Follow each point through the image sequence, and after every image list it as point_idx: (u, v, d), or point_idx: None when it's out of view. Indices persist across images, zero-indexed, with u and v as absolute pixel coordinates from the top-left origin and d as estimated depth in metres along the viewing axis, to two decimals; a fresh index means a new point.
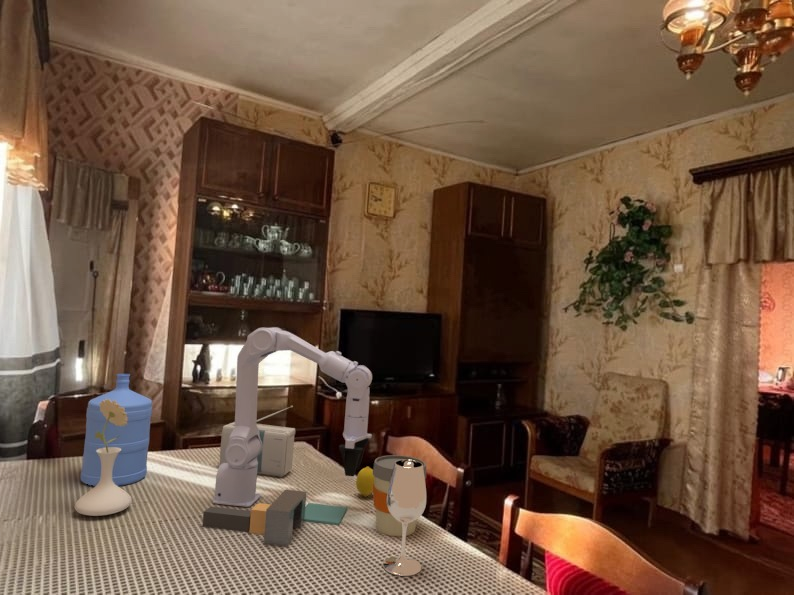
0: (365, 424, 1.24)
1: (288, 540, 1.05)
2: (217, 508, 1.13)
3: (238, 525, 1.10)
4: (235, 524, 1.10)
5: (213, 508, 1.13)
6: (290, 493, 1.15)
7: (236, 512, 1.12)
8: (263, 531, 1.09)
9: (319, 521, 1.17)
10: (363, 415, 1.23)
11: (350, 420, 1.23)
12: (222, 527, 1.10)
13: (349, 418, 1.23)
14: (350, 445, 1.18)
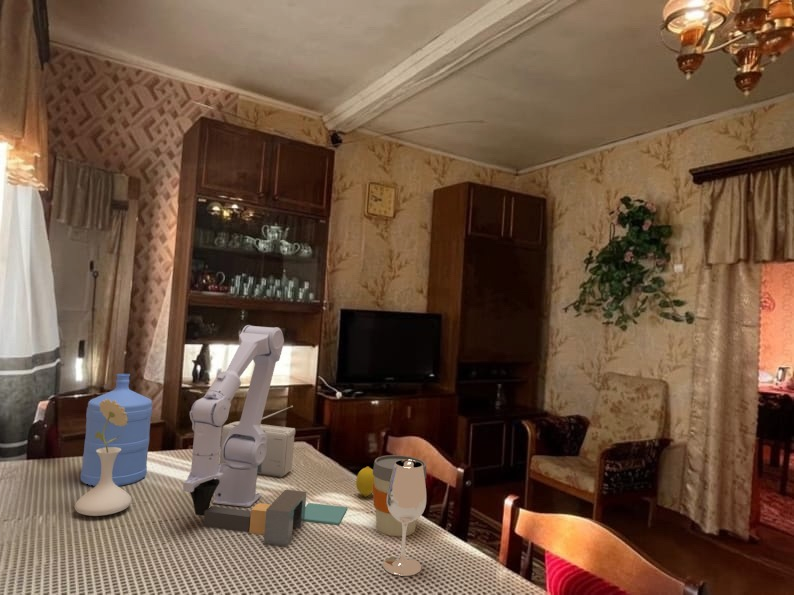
0: (213, 463, 1.12)
1: (288, 540, 1.05)
2: (218, 508, 1.13)
3: (238, 525, 1.10)
4: (235, 524, 1.10)
5: (214, 508, 1.13)
6: (290, 493, 1.15)
7: (237, 512, 1.12)
8: (263, 531, 1.09)
9: (319, 521, 1.17)
10: None
11: (195, 459, 1.11)
12: (222, 527, 1.10)
13: (195, 456, 1.11)
14: (188, 488, 1.06)
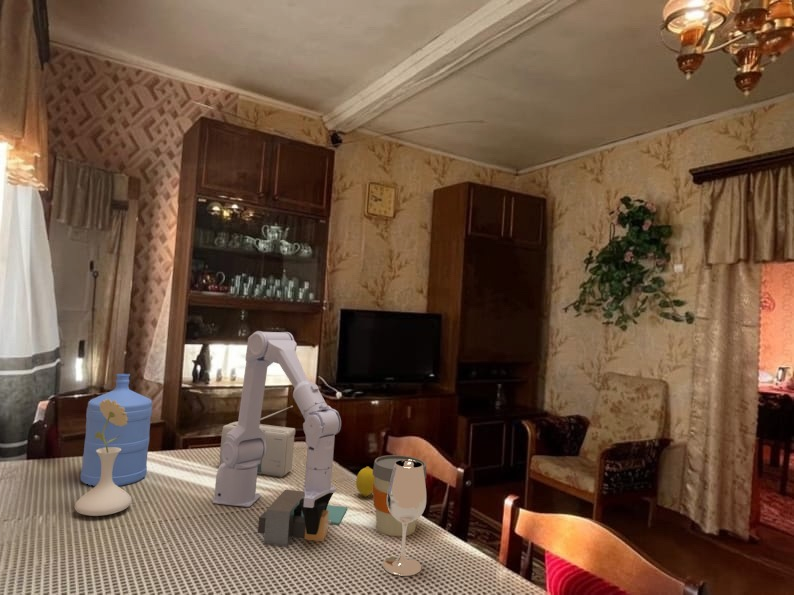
0: (328, 477, 1.09)
1: (288, 540, 1.05)
2: None
3: (295, 531, 1.09)
4: None
5: None
6: (290, 493, 1.15)
7: None
8: (319, 537, 1.08)
9: None
10: (318, 467, 1.08)
11: (311, 473, 1.08)
12: None
13: (310, 470, 1.08)
14: (309, 504, 1.03)
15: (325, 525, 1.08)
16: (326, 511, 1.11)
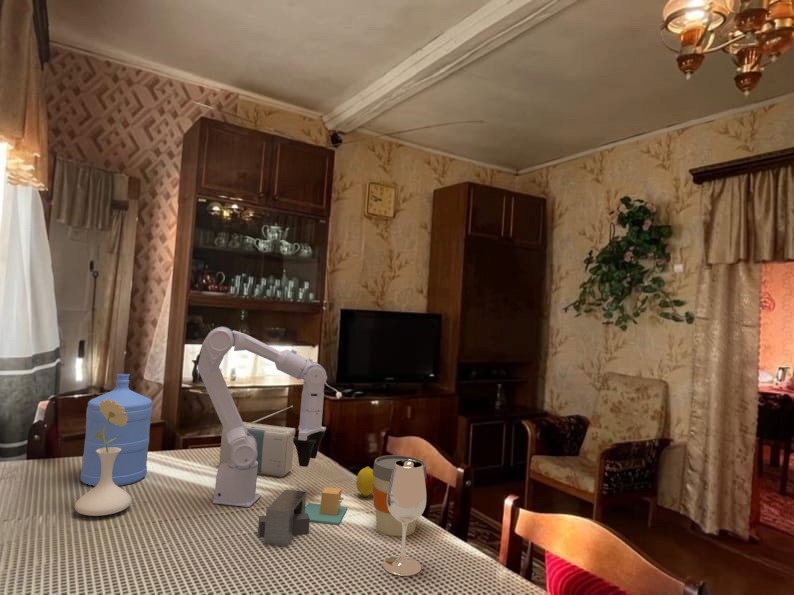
0: (319, 418, 1.31)
1: (288, 540, 1.05)
2: None
3: (298, 529, 1.10)
4: (295, 528, 1.10)
5: None
6: (290, 493, 1.15)
7: None
8: (333, 512, 1.21)
9: (319, 521, 1.17)
10: (320, 409, 1.31)
11: (304, 414, 1.30)
12: None
13: (304, 412, 1.30)
14: (303, 437, 1.25)
15: (338, 501, 1.21)
16: (339, 489, 1.24)
